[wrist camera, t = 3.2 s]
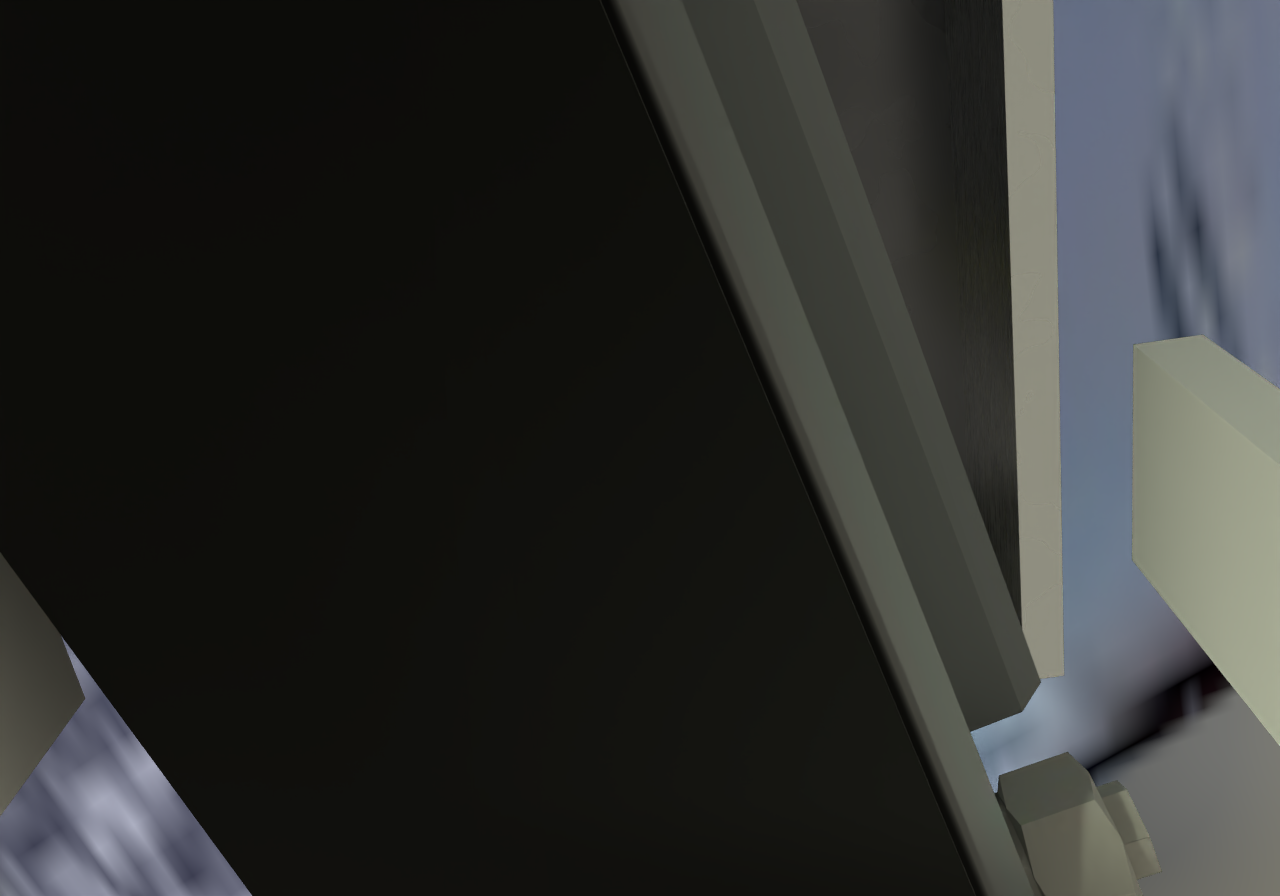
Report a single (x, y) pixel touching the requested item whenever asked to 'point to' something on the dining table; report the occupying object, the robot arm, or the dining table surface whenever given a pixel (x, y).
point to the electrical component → (505, 457)
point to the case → (970, 245)
